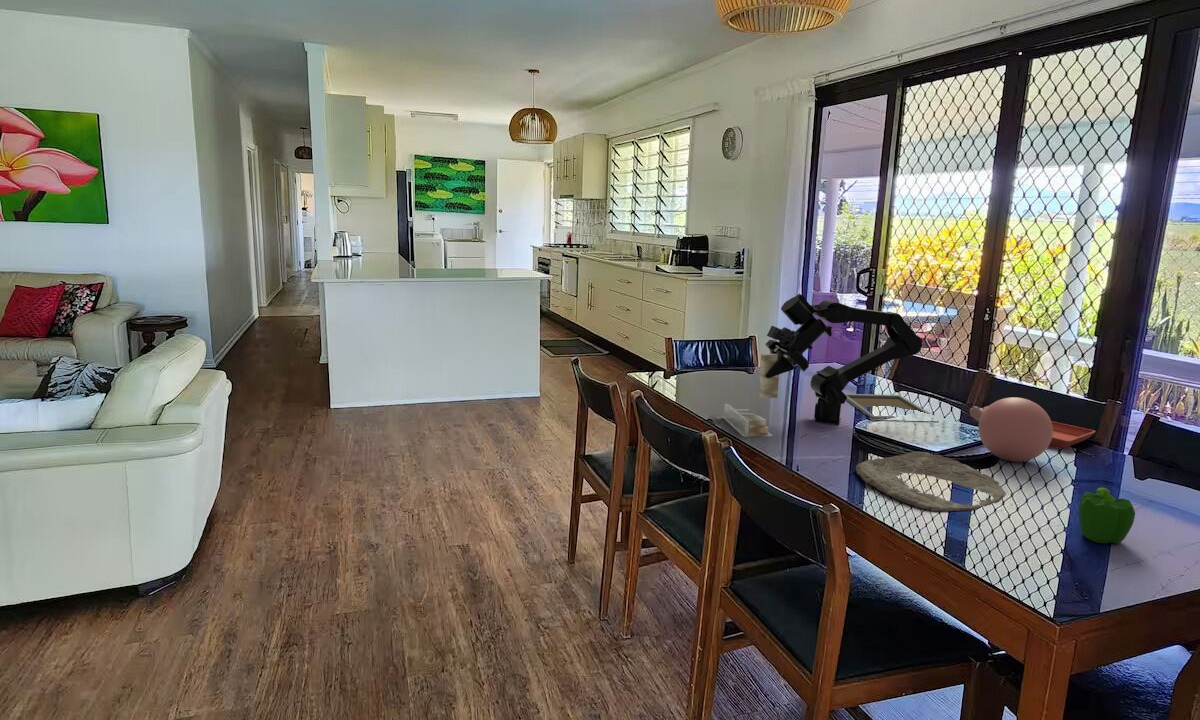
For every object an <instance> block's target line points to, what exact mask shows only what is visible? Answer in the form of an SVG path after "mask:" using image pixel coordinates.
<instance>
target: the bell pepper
mask: <svg viewBox="0 0 1200 720" xmlns="http://www.w3.org/2000/svg"><path fill="white" fill-rule="evenodd" d="M1095 491H1096V492H1091V491H1085V492H1084V494H1083V495H1082V496H1081V498H1080V500H1079V506H1078V517H1079V518H1078V519H1079V526H1080V531H1081V533H1082V535H1083V536H1084V538H1086V539H1087V540H1090V541H1091V542H1094V543H1097V544H1109V543H1110V544H1117V545H1119V544H1121V542H1123V541H1124V540H1125V539H1126V537H1127V535H1129V532H1130V530H1131V529H1132V526H1133V525H1134V522H1135V518H1136V517H1135V516H1136V511H1135V509H1134V505H1132V502H1131V500H1130V499H1126V498H1115V496H1112V494H1111V491H1110V490H1109V489H1107V488H1106V487H1098V488H1097V489H1096V490H1095Z"/></svg>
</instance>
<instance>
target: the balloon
mask: <svg viewBox="0 0 1200 720" xmlns="http://www.w3.org/2000/svg"><path fill="white" fill-rule="evenodd" d="M969 415H970V416H971V417H972V418H974V419H975V421H978V427H977V428H978V433H979V435H978V436H979V438H980V440H981V442H982V444H983V446H984V447H985V448H986V449H987V450H988V451H989V452H990V453H991V454H992V455H994V456H995V457H997V458H1000V459H1002V460H1005V461H1008V462H1016V463H1017V462H1019V463H1020V462H1026V461H1030V460H1033V459H1035V458H1037V457H1040V455H1042V454H1043V453H1044V452H1045V451H1046V450H1047V449H1048V448H1049V447H1050V446H1049V444H1050V442H1051V440H1052V436H1053V426H1052V422H1051V421H1052V420H1051V418H1050V416H1049V414H1048V413H1047V411H1046V410H1045V409H1044V408H1043V407H1041V406H1040V405H1039V404H1038V403H1036V402H1034V401H1031V400H1030V399H1028V398H1024V397H1017V396H1016V397H1014V396H1013V397H1004V398H1002V399H998V400H996V401H994V402H993V403H991V404H990V405H987V406H984V407H978V406H977V405H976V406H975V405H974V406H973V407H971V408H970V409H969Z"/></svg>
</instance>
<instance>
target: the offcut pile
mask: <svg viewBox="0 0 1200 720" xmlns="http://www.w3.org/2000/svg"><path fill="white" fill-rule="evenodd" d="M742 416H744V417H745V418H746V419H747V420H748V421H749V435H758V434H768V432H769V427H768V426H767V419H765V418H764V417H762V416H760V415H759V414H755V415H742Z"/></svg>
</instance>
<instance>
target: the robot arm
mask: <svg viewBox="0 0 1200 720" xmlns="http://www.w3.org/2000/svg"><path fill="white" fill-rule="evenodd" d="M780 310H781V311H782V313H783V314H784V315H785V316H786V317H787V318H788V319H789V320H790V321H791V322H792V324H793V325H800V326H799V327H798V328H797V329H796V330H791V329H790V328H787V327H785V326H784V327H782V328H779V327H776V326H774V325H771V326H770V328H769V331H768V332H767V334H766V336H767V337H769V338H770V339H769V340H768V341H767V342H766V343H765V346H766V347H767V349H769V352H770V353H769V354H778V359H777V361H776V362H775V364H774V365H773V366H772V367H771V369H770V370H769V371H768V372H767V374H766V375H765V376H766V377H767V378H771V377H774V376H776V375H779V376H780V375H782V374H784V373H787V372H790V371H795V370H797V369H796V366H798V369H799V370H800V371H802V372H805V371H807V369H809V367H810V361H809V360H808V359H807V358H806V357H805V356H804V355H803V354H804V353H805V352H806V351H807V350H809V351H811V350H812V349H813V344H814V343H815V342H816V341H817V340H818V339H819V338H820V337H821V336H822V335H825V336H828V337H830V338H831V337H832V336H833V335H832V334H833V333H832V328H833V326H830V325H826V324H825V323H824V321H825V322H828V323H831V324H844V323H851V322H855V323H863V324H869V325H870V324H871V325H879V326H884V327H885V330H886V334H887V335H888V337H889V338H887V340H886V341H885V342H884V343H883V345H882V346H880V347H879V348H877V349H874V350H872V351H870V352H869V353H867V354H865V355H863V356H861V357H859V358H856V359H855V360H853V361H851V362H849V363H847V364H845V365H843V366H841V367H839V368H835V367H833V366H830V365H828V366H827V365H826V366H825V367H824V368H822V369H821V370H816V371H815V374H814V375H813V376H812V377H811V380H810V388H811V389H812V391H813V392H814V395H815V397H816V398H817V402H815V405H814V417H813V418H814V419H815V420H814V421H815V423H821V424H829V425H837V426H839V425H840V424H841V420H842V419H841V418H842V417H841V414H842V412H841V411H842V405H844V404H845V403H846V399H847V396H846V395H845V394H846V393H844V391H843V390H844V389H845V388H846V387H847V385H848V384H849V383H850V382H852V381H854V380H856V379H858V378H860V377H861V376H863V375H865V374H867V373H869V372H871V371H873V370H875V369H877V368H879V367H881V366H883V365H884V364H887V363H888V362H891V361H892V360H893V361H894V360H899V359H905V358H906V359H907V358H909V357H912V356H915V355H917V354H919V353H920V352H921V350H922V346H923V340H922V339H921V337H920V336H919V335H917V334H916V333H915V331H914V330H913V329H912V327H910V325H908V323H907V322H905V320H904V319H903V317H902V316H901V315H900V314H899V313H897V312H893V311H882V310H881V311H880V310H873V309H866V308H857V307H852V306H849V305H846V304H843V303H840V302H836V301H833V300H829V299H824V300H822V301H821V302H820V303H819V304H813V305H811V304H810V303H809V302H808V301H807V299H806V297H805V296H804V295H803V294H801V293H797V295H795V296H793V297H791V298H790V299H788V300H786V301H785V302H784V303H783V304H782V305H781V307H780ZM815 316H817V317H818V318H816V317H815ZM771 338H772V339H771Z"/></svg>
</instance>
